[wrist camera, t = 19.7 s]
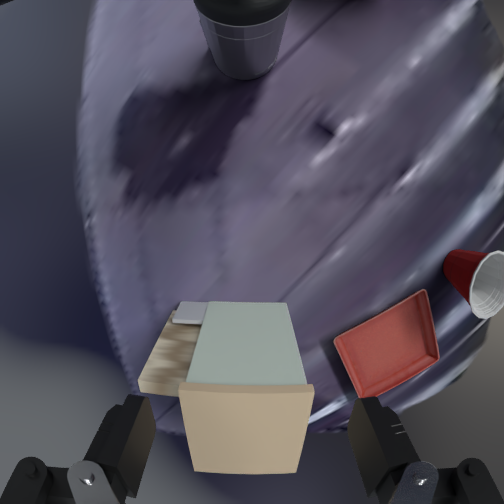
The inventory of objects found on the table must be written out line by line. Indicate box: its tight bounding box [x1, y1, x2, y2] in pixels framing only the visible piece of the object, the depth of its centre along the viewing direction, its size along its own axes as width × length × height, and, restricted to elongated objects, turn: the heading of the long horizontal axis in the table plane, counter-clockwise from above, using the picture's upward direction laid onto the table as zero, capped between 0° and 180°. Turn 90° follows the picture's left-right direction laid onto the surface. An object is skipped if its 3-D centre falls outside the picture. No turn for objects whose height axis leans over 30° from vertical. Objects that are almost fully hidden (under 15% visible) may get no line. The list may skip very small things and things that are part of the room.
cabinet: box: [172, 301, 314, 474], centre depth 37 cm, size 17×15×21 cm
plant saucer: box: [333, 289, 439, 398], centre depth 47 cm, size 18×18×3 cm
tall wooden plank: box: [138, 310, 202, 397], centre depth 38 cm, size 6×3×18 cm, turn 88°
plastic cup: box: [443, 249, 504, 319], centre depth 39 cm, size 11×11×12 cm
